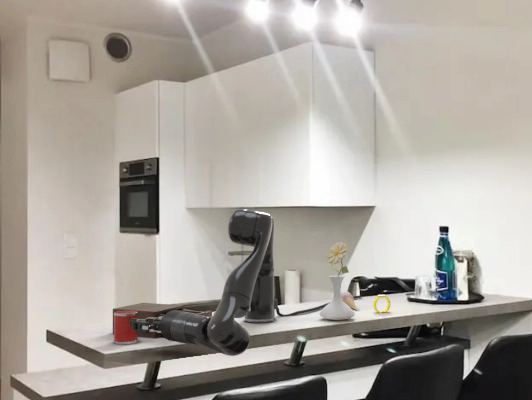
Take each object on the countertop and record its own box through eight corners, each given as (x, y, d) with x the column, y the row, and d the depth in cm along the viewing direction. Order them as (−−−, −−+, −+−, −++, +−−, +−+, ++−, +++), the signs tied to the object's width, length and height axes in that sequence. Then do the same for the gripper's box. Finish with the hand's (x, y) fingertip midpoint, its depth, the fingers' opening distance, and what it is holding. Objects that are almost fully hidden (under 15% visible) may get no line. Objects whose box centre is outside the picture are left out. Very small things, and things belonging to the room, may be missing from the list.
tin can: (124, 339, 193) (124, 310, 193) (142, 341, 191) (142, 311, 191) (109, 343, 188) (109, 313, 188) (127, 345, 185) (127, 314, 185)
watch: (387, 311, 244) (387, 294, 244) (391, 312, 241) (391, 294, 241) (372, 312, 241) (372, 295, 241) (376, 313, 239) (376, 295, 239)
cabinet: (183, 329, 208) (183, 305, 208) (154, 337, 195) (154, 311, 195) (142, 326, 214) (142, 302, 214) (112, 334, 201) (112, 308, 201)
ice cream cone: (365, 312, 247) (351, 297, 261) (360, 301, 245) (346, 287, 259) (353, 319, 246) (339, 303, 260) (348, 308, 244) (335, 293, 258)
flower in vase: (314, 317, 230) (314, 240, 230) (346, 315, 234) (346, 240, 234) (329, 323, 218) (329, 242, 218) (363, 321, 222) (362, 242, 222)
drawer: (224, 330, 201) (224, 311, 201) (200, 338, 190) (200, 318, 190) (173, 326, 209) (173, 308, 209) (146, 333, 197) (146, 314, 197)
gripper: (206, 308, 178) (167, 302, 189) (159, 315, 167) (121, 308, 178) (206, 338, 178) (167, 331, 189) (159, 347, 167) (121, 338, 178)
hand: (145, 320), depth 183 cm, fingers open, 8 cm apart
